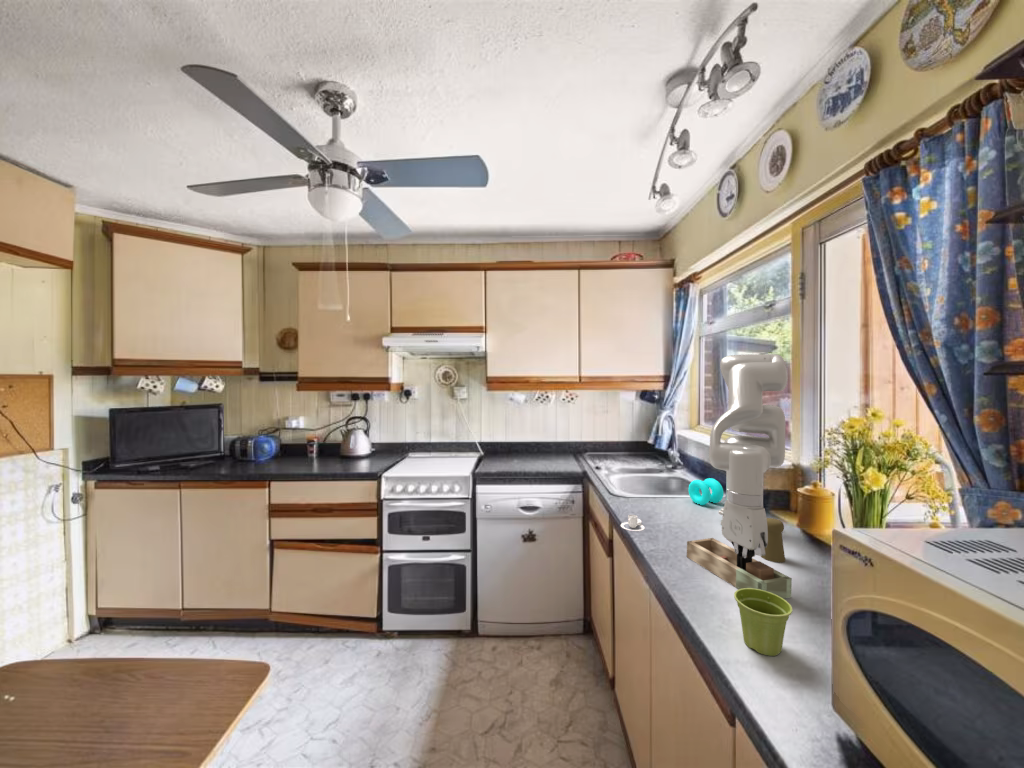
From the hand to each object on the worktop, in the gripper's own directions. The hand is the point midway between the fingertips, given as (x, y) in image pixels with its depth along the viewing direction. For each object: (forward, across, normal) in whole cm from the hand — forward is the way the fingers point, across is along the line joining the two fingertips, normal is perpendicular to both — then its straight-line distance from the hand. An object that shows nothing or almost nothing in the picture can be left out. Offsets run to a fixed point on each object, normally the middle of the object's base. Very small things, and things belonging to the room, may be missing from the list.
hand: (744, 570), depth 99 cm
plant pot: (+3, +20, -17) cm, 26 cm away
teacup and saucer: (+3, -38, -4) cm, 38 cm away
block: (+1, +4, 0) cm, 4 cm away
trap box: (+3, -3, 0) cm, 4 cm away
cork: (+3, -8, +19) cm, 21 cm away
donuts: (+3, -54, +37) cm, 65 cm away
